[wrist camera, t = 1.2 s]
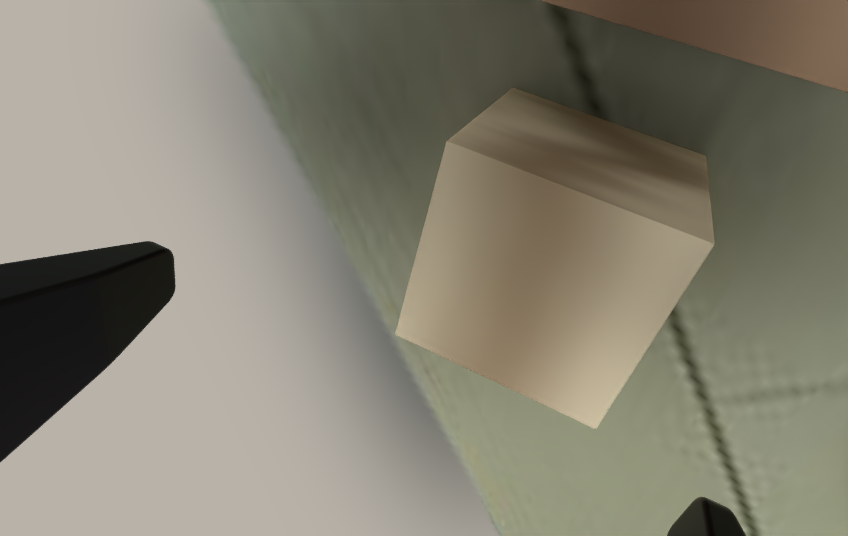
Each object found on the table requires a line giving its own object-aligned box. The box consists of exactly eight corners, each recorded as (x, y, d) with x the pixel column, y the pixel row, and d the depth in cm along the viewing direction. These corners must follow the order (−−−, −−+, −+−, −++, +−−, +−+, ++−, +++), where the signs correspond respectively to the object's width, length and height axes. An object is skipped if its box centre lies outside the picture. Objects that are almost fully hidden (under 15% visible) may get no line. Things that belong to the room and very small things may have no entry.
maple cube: (705, 154, 16) (714, 244, 11) (617, 309, 19) (595, 429, 14) (513, 86, 17) (446, 140, 12) (463, 244, 20) (395, 334, 16)
